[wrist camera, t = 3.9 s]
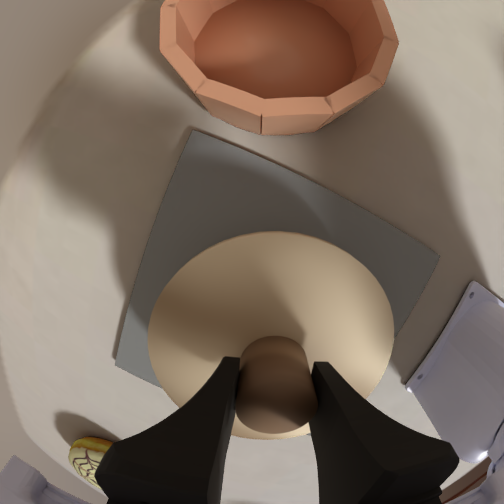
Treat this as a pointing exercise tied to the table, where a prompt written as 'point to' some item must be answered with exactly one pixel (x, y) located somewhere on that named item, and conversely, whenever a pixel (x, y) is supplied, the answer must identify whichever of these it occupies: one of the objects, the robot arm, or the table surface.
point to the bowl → (279, 58)
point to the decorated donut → (88, 456)
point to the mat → (259, 220)
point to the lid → (271, 327)
